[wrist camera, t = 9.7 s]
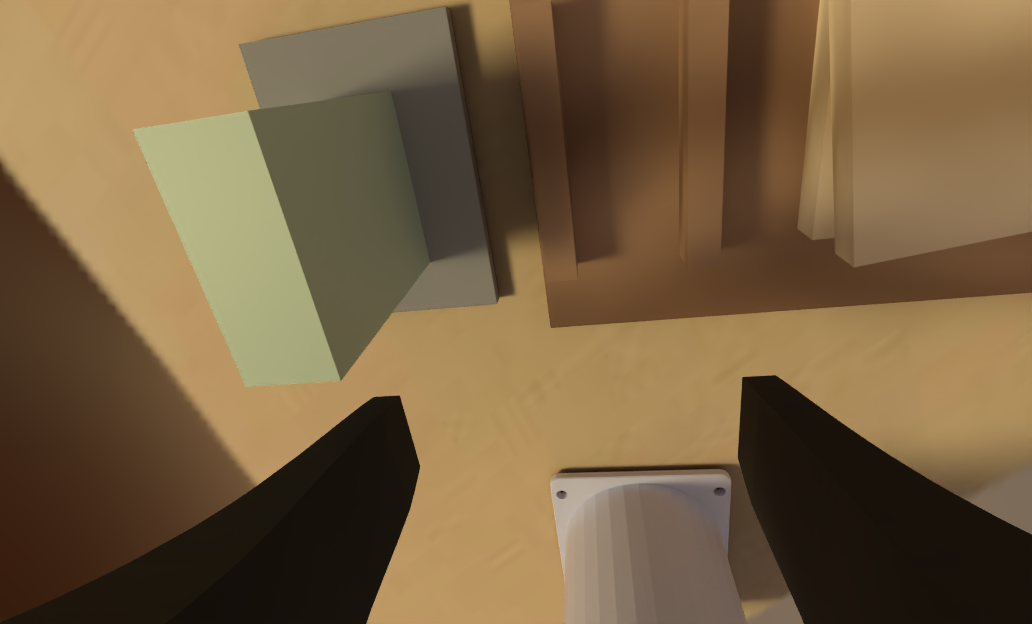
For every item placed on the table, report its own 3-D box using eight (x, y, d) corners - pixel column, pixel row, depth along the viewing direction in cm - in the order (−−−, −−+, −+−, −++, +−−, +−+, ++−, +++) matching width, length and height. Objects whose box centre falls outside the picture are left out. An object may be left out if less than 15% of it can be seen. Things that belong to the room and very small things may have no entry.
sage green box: (430, 262, 19) (340, 380, 12) (368, 268, 19) (245, 386, 12) (390, 91, 16) (247, 110, 9) (321, 102, 17) (132, 129, 10)
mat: (499, 297, 20) (496, 304, 19) (336, 311, 21) (330, 317, 21) (449, 8, 16) (445, 6, 15) (249, 45, 17) (238, 44, 16)
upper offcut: (1024, 214, 15) (1060, 225, 13) (834, 253, 16) (854, 267, 15) (1062, -73, 12) (1110, -86, 11) (828, 0, 13) (850, -6, 12)
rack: (1076, 276, 17) (1150, 307, 15) (552, 316, 20) (548, 347, 18) (1259, -242, 12) (1420, -314, 9) (502, -83, 15) (488, -110, 12)
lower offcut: (968, 211, 16) (997, 222, 15) (797, 228, 17) (812, 239, 16) (1034, -58, 13) (1075, -69, 12) (821, -22, 14) (842, -29, 13)
